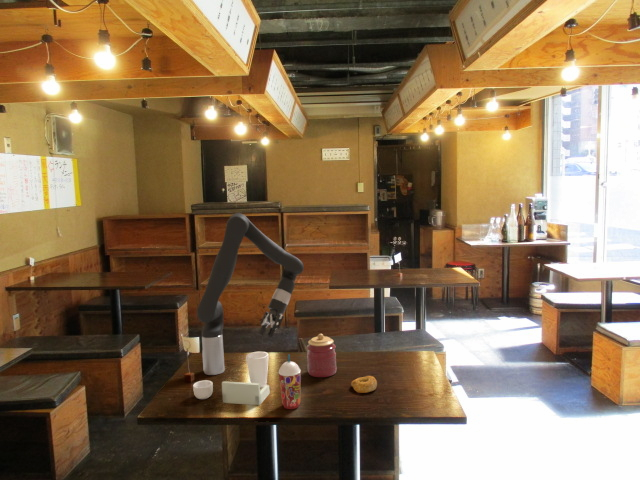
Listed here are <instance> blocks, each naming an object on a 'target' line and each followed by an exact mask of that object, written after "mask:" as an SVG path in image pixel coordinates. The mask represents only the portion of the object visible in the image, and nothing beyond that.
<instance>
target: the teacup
mask: <svg viewBox="0 0 640 480" xmlns="http://www.w3.org/2000/svg"><path fill="white" fill-rule="evenodd" d="M213 387H214V385H213V381H211V380H207V379H205V380H199V381H196V382H194V383H193V385H192V388H193V394H194V396H195V398H196V399H199V400H206V399H208V398H209V397H211V396H212V394H213V390H214V388H213ZM209 399H210V398H209Z"/></svg>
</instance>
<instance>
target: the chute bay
mask: <svg viewBox="0 0 640 480" xmlns="http://www.w3.org/2000/svg"><path fill="white" fill-rule="evenodd" d="M270 393H271V391H270V384H267V385H265V386H264V387H262V388H260V383H251V382H244V381H243V382H241V381H240V382H239V381H227V380H226V381H225V380H223V381H222V382H221V394H222V403H223V404H225V403H226V404H235V405H236V404H238V405H248V406H249V405H250V406H251V405H252V406H260V405H261V404H262V403H263V402H264V401H265V400H266V398H267V397H268V396H269V395H270Z"/></svg>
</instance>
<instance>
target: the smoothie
mask: <svg viewBox="0 0 640 480" xmlns="http://www.w3.org/2000/svg"><path fill="white" fill-rule="evenodd" d="M301 372H302V370H301V368H300V366H299V365H298V364H297V363H296V361H295V362H294V361H291V355H290V354H287V361H285V362H283V363H282V365H280V368H279V370H278V378H279V386H280V395H281V402H282V403H281V405H283V408H284V409H286V410H294V409H297V408H299V406H300V403H301V382H302V381H301V380H302V377H301Z"/></svg>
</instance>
